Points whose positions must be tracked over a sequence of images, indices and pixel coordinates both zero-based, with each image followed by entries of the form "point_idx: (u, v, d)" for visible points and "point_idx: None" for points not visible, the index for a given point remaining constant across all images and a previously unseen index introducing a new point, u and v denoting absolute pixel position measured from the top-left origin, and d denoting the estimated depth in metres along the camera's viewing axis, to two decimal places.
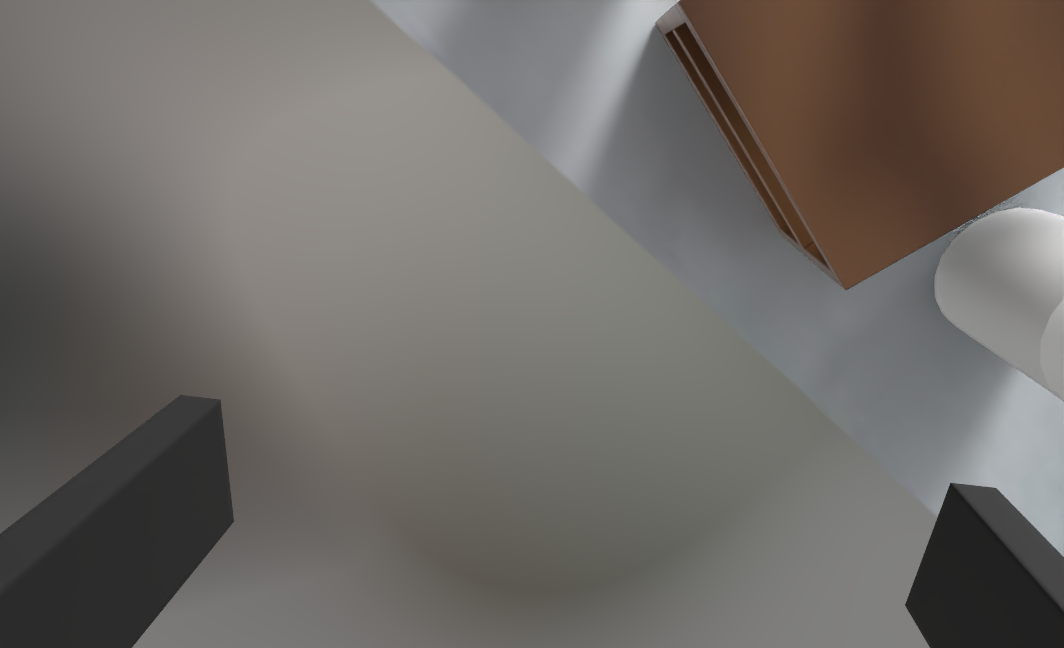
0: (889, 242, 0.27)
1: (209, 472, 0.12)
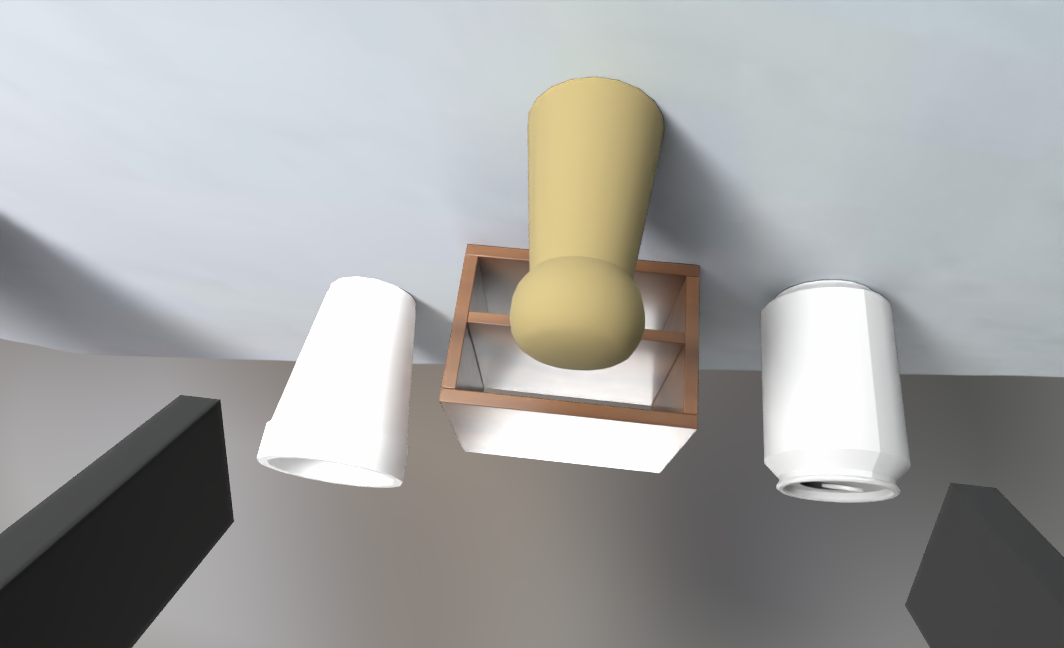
0: (651, 464, 0.43)
1: (209, 472, 0.12)
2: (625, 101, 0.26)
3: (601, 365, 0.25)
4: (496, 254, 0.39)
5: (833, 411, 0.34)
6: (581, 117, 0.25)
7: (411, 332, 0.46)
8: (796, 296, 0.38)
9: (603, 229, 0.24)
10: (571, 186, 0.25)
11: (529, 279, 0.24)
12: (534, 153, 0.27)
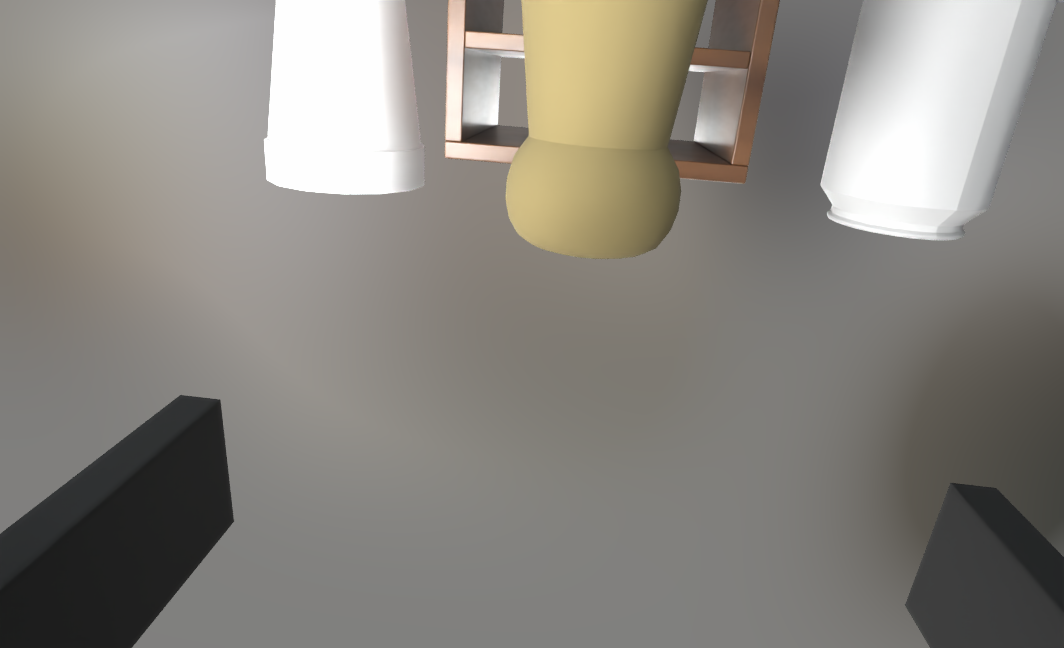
0: None
1: (209, 472, 0.12)
2: None
3: None
4: None
5: (917, 160, 0.28)
6: None
7: None
8: None
9: (628, 101, 0.16)
10: (581, 25, 0.16)
11: (525, 176, 0.18)
12: None
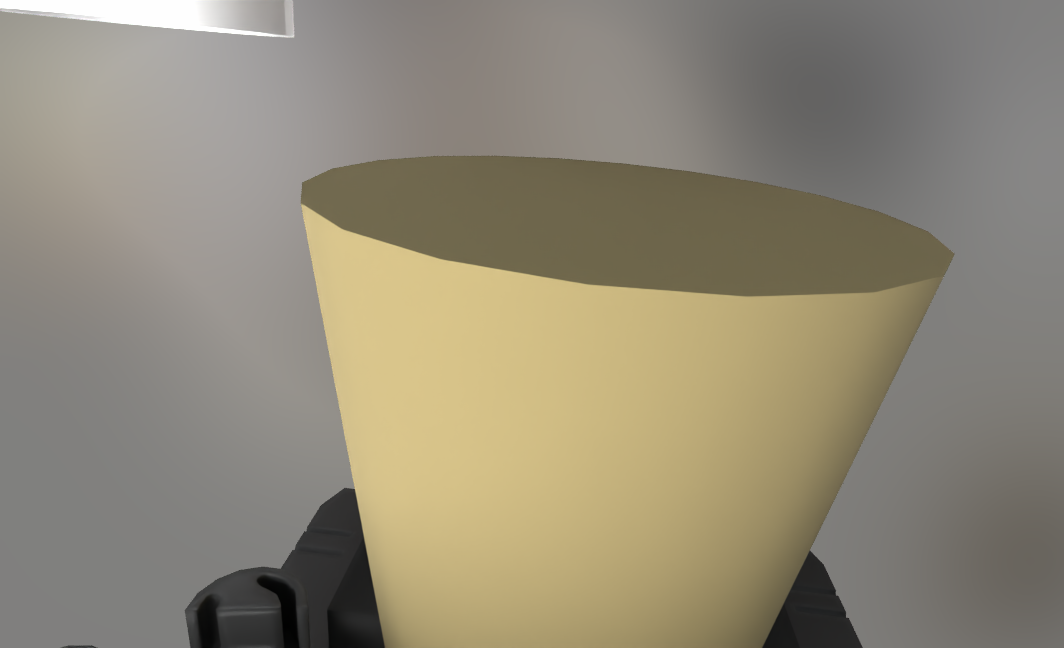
0: None
1: None
2: (770, 405, 0.04)
3: None
4: None
5: None
6: (510, 500, 0.05)
7: None
8: None
9: None
10: None
11: None
12: (348, 446, 0.07)
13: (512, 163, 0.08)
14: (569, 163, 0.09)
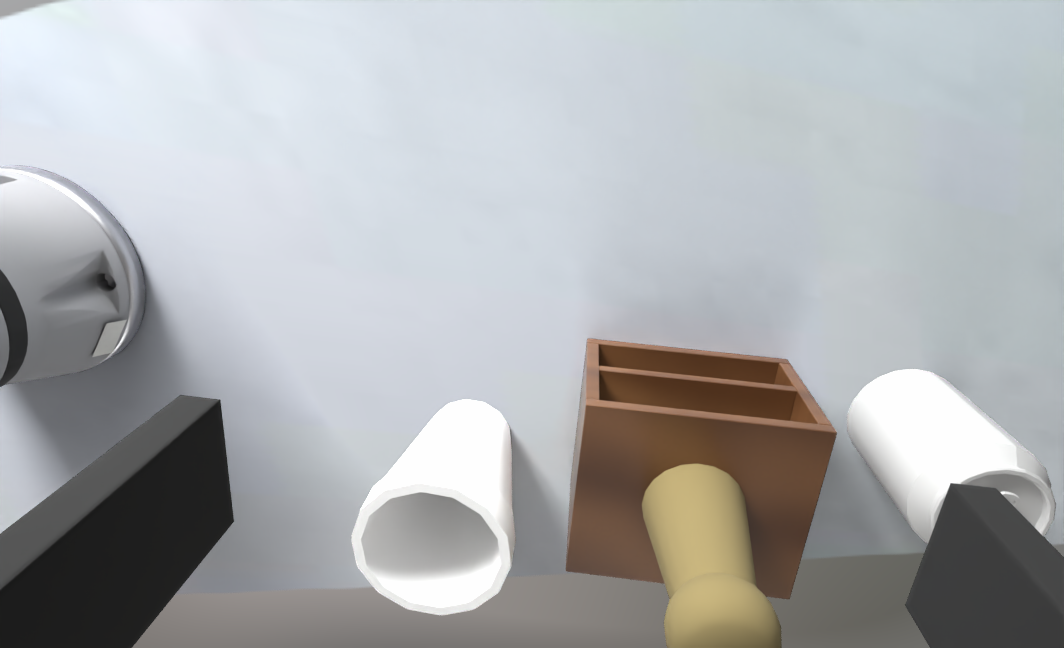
0: (782, 567, 0.39)
1: (209, 472, 0.12)
2: (722, 479, 0.37)
3: None
4: (614, 343, 0.45)
5: (954, 426, 0.37)
6: (694, 486, 0.36)
7: None
8: (876, 381, 0.44)
9: (732, 556, 0.31)
10: (700, 527, 0.33)
11: (684, 589, 0.30)
12: (659, 513, 0.36)
13: None
14: None
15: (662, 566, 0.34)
